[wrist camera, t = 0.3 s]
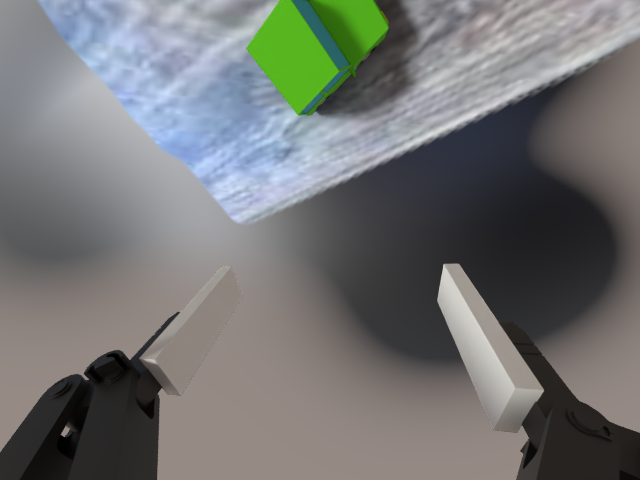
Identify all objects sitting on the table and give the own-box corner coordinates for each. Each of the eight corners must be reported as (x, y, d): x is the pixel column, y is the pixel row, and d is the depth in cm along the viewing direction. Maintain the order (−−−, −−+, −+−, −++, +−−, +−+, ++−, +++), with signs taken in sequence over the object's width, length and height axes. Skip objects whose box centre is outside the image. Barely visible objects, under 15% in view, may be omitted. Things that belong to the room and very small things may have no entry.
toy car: (392, 46, 29) (406, 17, 21) (317, 120, 35) (303, 122, 26) (344, -36, 27) (337, -109, 18) (270, 59, 32) (238, 39, 23)
